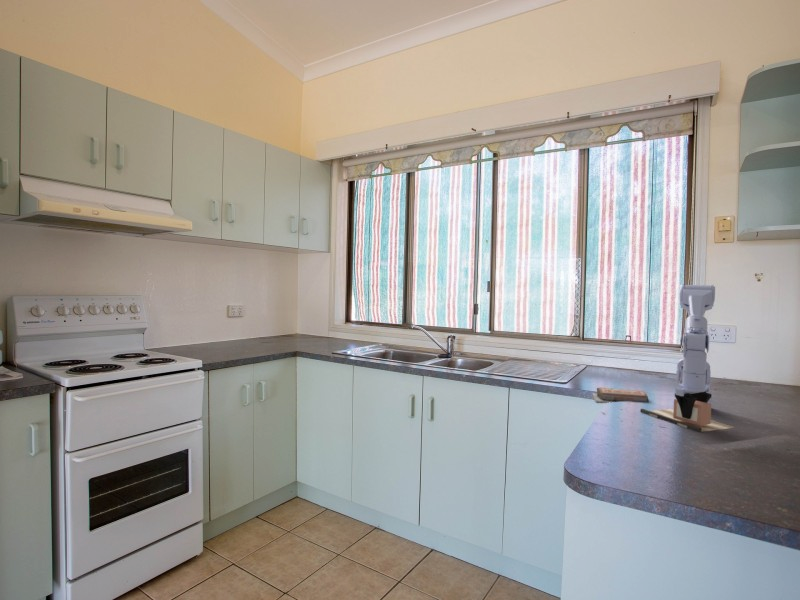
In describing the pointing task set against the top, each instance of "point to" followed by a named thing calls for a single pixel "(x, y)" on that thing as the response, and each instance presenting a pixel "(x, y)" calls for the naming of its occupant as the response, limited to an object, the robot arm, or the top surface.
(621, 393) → the packaged product
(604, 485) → the top surface
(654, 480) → the top surface
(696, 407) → the carton
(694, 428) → the shelf board
